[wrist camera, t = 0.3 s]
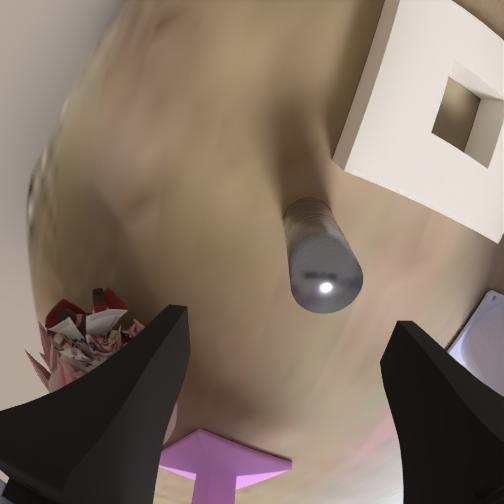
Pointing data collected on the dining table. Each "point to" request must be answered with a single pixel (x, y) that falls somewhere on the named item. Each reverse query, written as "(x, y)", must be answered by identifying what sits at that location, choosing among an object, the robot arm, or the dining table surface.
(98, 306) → the toy
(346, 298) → the peg
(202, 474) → the pink table lamp
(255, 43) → the dining table surface
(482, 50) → the socket block
